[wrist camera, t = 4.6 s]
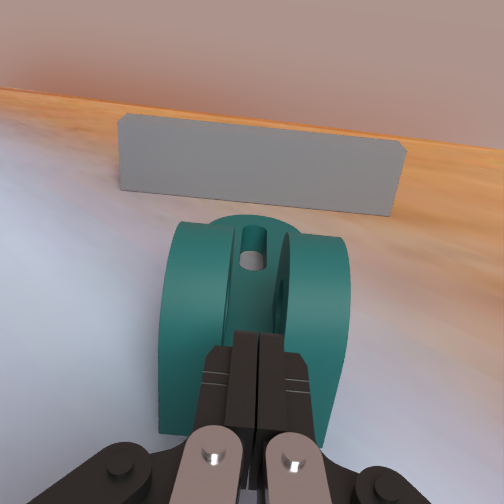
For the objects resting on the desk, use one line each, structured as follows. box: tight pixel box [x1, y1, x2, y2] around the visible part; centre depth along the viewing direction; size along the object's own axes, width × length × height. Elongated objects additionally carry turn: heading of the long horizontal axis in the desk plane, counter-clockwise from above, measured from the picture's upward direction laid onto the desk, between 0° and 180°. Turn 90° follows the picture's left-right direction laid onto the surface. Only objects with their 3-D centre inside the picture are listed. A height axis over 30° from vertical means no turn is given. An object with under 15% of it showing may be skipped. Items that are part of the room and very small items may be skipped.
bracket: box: [158, 215, 351, 448], centre depth 25 cm, size 18×7×8 cm, turn 178°
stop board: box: [117, 113, 407, 216], centre depth 41 cm, size 24×3×6 cm, turn 88°
